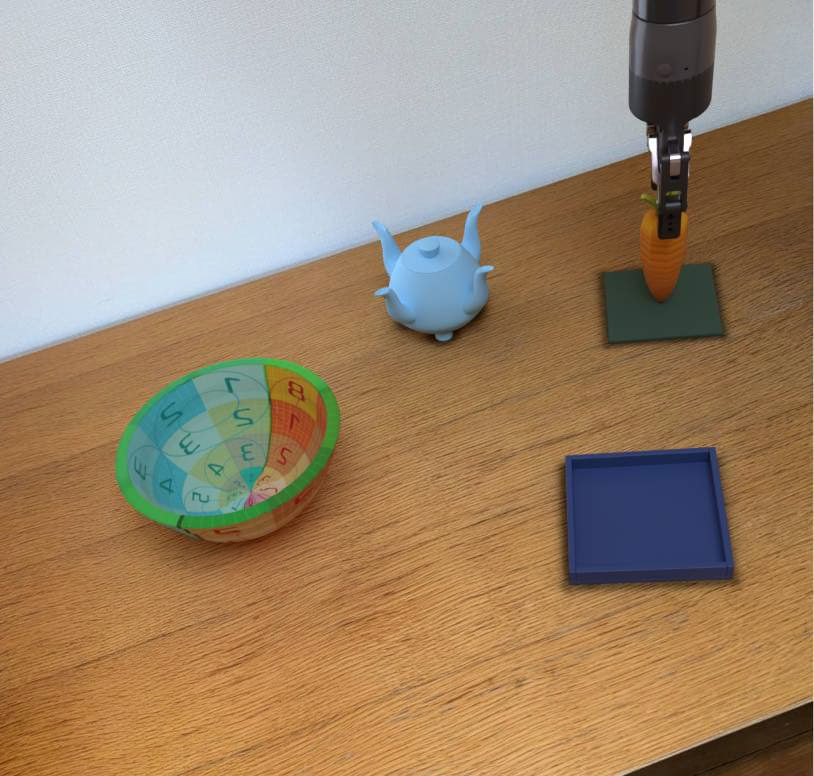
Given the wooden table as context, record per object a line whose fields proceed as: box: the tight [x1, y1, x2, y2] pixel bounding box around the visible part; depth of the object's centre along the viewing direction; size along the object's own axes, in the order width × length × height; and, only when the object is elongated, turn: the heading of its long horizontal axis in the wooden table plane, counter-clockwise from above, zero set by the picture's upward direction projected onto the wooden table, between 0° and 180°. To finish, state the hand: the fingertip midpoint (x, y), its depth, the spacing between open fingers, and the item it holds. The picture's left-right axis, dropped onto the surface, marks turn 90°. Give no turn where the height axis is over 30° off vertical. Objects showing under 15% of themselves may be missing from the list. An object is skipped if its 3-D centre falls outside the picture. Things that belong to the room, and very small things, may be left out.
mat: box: [603, 262, 724, 345], centre depth 111 cm, size 12×12×1 cm
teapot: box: [371, 202, 495, 342], centre depth 112 cm, size 13×13×10 cm
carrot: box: [639, 191, 689, 302], centre depth 105 cm, size 5×5×15 cm
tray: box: [564, 446, 735, 586], centre depth 92 cm, size 14×14×2 cm
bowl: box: [114, 357, 341, 543], centre depth 99 cm, size 22×22×10 cm
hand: (664, 211), depth 102 cm, fingers open, 8 cm apart
